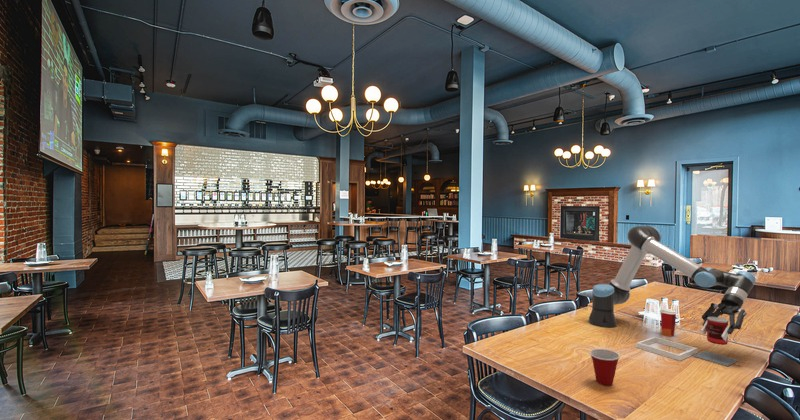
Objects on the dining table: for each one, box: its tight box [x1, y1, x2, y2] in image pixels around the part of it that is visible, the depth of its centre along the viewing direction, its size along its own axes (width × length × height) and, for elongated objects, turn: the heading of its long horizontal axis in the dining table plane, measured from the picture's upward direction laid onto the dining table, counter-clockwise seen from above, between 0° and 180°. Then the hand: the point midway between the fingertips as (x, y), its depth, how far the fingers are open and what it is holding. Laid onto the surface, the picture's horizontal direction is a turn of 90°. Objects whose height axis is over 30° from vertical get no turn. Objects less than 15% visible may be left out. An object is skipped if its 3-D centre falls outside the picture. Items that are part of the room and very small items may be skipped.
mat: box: [692, 350, 739, 368], centre depth 178 cm, size 13×13×1 cm
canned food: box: [706, 316, 729, 346], centre depth 178 cm, size 8×8×11 cm
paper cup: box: [660, 308, 678, 337], centre depth 212 cm, size 8×8×14 cm
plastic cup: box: [589, 348, 621, 387], centre depth 151 cm, size 11×11×12 cm
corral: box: [636, 336, 698, 362], centre depth 188 cm, size 19×19×2 cm
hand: (713, 335), depth 177 cm, fingers closed on canned food, 8 cm apart
